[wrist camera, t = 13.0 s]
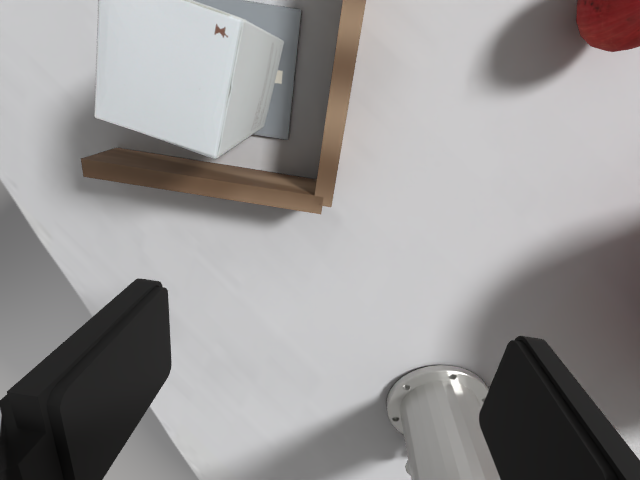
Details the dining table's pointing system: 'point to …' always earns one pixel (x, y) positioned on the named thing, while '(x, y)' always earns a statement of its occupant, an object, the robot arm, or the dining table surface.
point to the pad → (287, 29)
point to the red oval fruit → (609, 23)
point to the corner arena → (243, 180)
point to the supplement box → (183, 72)
